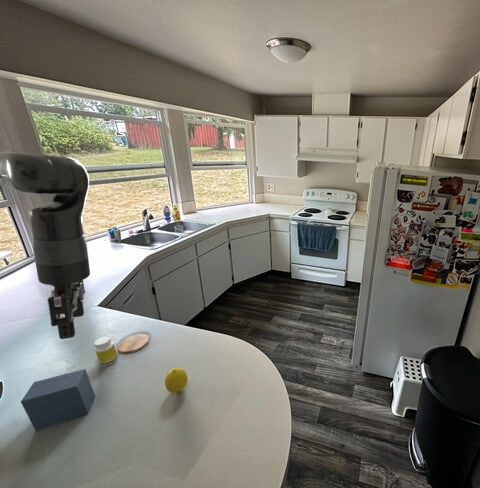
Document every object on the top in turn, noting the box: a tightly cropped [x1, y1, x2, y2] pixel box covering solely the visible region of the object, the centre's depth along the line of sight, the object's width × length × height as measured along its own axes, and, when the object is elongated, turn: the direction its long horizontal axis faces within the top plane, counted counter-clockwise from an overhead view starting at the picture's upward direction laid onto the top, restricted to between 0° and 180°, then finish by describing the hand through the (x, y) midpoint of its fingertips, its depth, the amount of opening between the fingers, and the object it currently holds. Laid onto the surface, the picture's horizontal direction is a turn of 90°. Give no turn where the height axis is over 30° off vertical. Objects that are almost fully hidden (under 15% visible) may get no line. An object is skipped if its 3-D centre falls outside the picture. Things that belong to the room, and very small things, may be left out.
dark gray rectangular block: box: [20, 368, 96, 432], centre depth 65 cm, size 10×6×10 cm, turn 117°
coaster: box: [117, 333, 150, 354], centre depth 90 cm, size 9×9×1 cm
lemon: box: [164, 367, 188, 394], centre depth 72 cm, size 6×6×8 cm
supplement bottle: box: [93, 336, 119, 367], centre depth 81 cm, size 5×5×8 cm
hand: (72, 326), depth 55 cm, fingers open, 8 cm apart
